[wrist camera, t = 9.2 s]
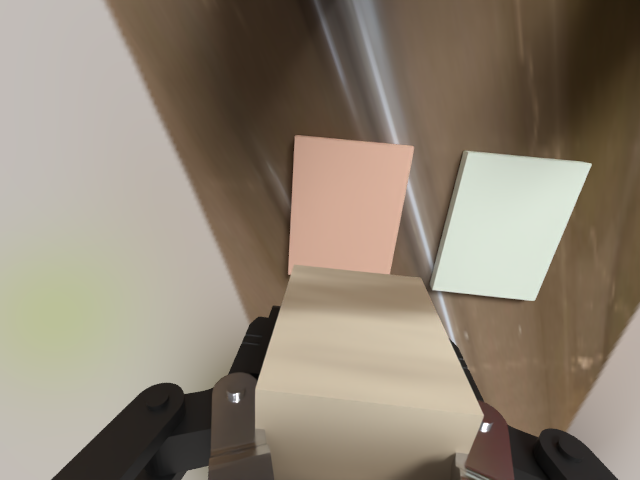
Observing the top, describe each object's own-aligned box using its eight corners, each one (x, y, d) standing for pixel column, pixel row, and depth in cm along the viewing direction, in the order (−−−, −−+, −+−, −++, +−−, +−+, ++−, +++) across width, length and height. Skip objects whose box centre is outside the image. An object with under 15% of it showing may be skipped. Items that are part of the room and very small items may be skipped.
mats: (296, 135, 25) (294, 136, 24) (582, 161, 24) (591, 163, 23) (289, 269, 29) (288, 274, 29) (528, 294, 29) (534, 300, 28)
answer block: (294, 264, 12) (255, 389, 7) (420, 277, 12) (484, 416, 7) (288, 361, 14) (255, 518, 9) (398, 373, 14) (432, 541, 9)
